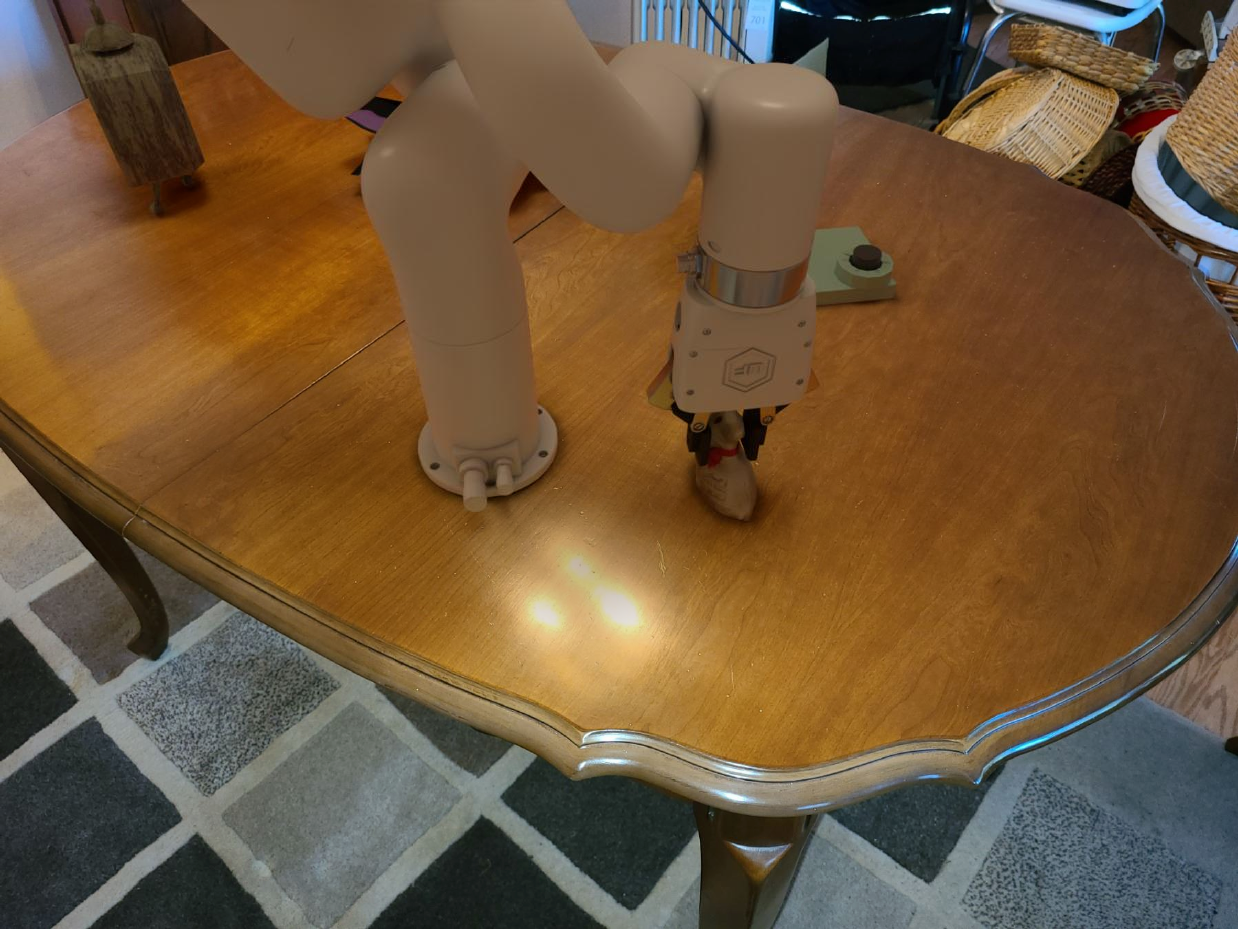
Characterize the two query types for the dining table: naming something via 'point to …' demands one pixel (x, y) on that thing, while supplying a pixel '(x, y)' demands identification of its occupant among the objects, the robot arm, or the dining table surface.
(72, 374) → the dining table surface
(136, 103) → the tabletop clock
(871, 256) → the button
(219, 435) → the dining table surface
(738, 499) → the chocolate bunny
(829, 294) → the scale
